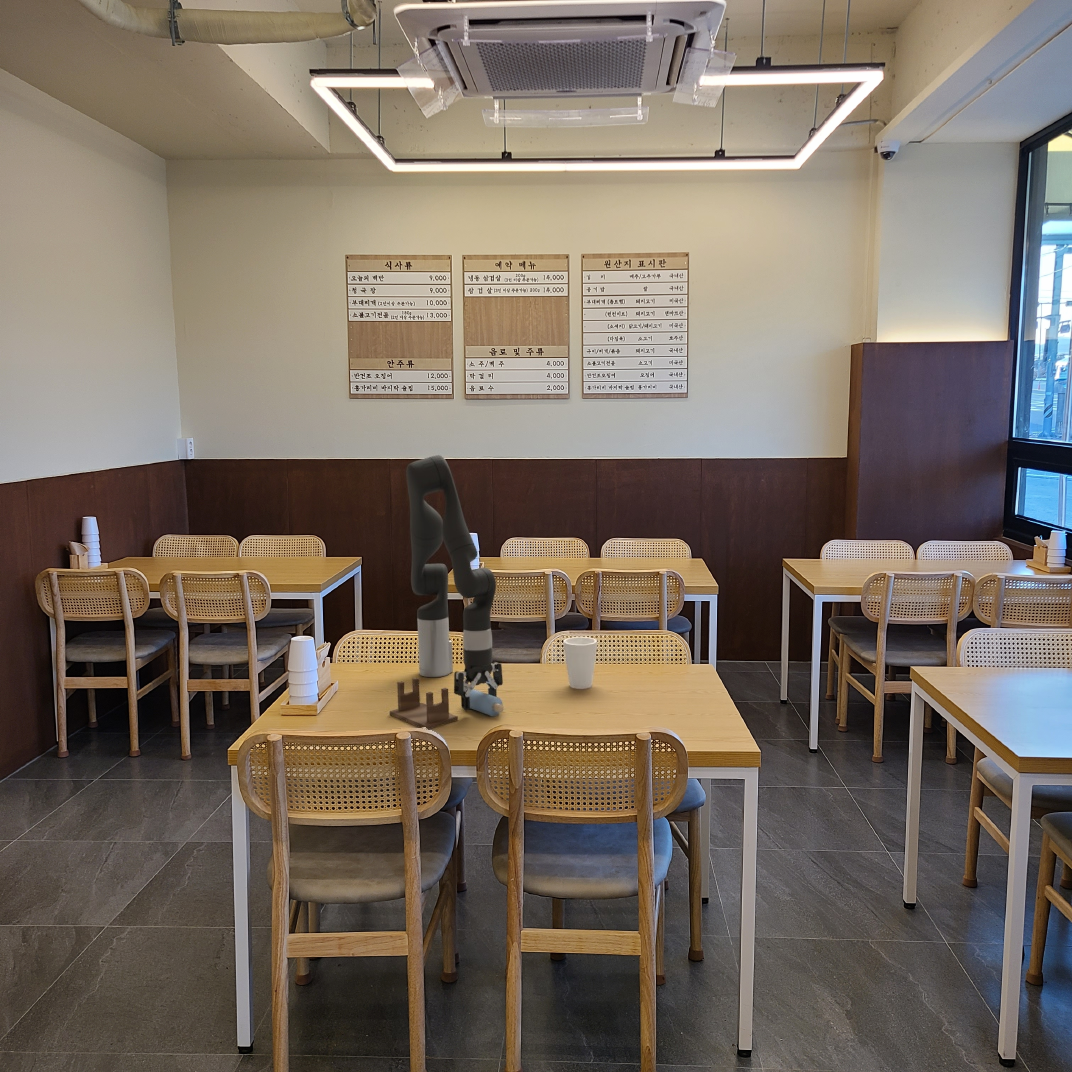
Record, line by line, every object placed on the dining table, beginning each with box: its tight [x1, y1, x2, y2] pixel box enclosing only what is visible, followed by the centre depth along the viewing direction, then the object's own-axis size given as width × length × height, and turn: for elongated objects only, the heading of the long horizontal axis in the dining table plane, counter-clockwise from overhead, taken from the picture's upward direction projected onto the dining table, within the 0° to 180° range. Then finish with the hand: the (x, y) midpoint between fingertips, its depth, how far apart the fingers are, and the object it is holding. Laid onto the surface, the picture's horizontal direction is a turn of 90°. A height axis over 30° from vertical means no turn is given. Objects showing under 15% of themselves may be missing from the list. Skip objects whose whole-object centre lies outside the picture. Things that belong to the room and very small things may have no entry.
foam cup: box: [563, 636, 598, 690], centre depth 264 cm, size 10×9×13 cm
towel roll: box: [469, 688, 505, 717], centre depth 244 cm, size 14×5×5 cm, turn 42°
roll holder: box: [389, 677, 459, 729], centre depth 239 cm, size 16×10×8 cm, turn 42°
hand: (479, 706), depth 243 cm, fingers open, 8 cm apart
